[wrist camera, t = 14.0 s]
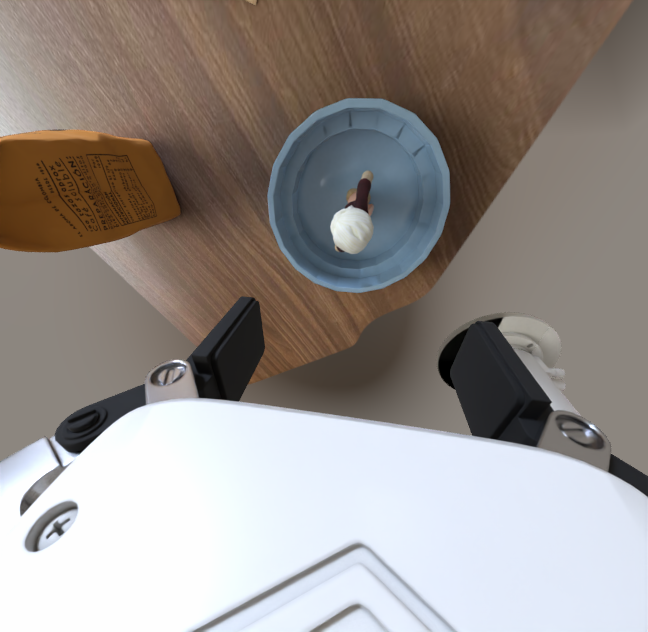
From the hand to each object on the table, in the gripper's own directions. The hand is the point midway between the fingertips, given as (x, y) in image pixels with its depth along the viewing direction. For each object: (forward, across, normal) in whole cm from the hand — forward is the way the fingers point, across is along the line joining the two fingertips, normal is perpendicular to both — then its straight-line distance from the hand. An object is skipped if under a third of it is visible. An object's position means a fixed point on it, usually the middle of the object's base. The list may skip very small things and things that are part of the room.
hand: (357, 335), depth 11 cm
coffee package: (+22, +29, -3) cm, 37 cm away
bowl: (+23, +1, -2) cm, 23 cm away
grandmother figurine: (+22, +1, -2) cm, 22 cm away
